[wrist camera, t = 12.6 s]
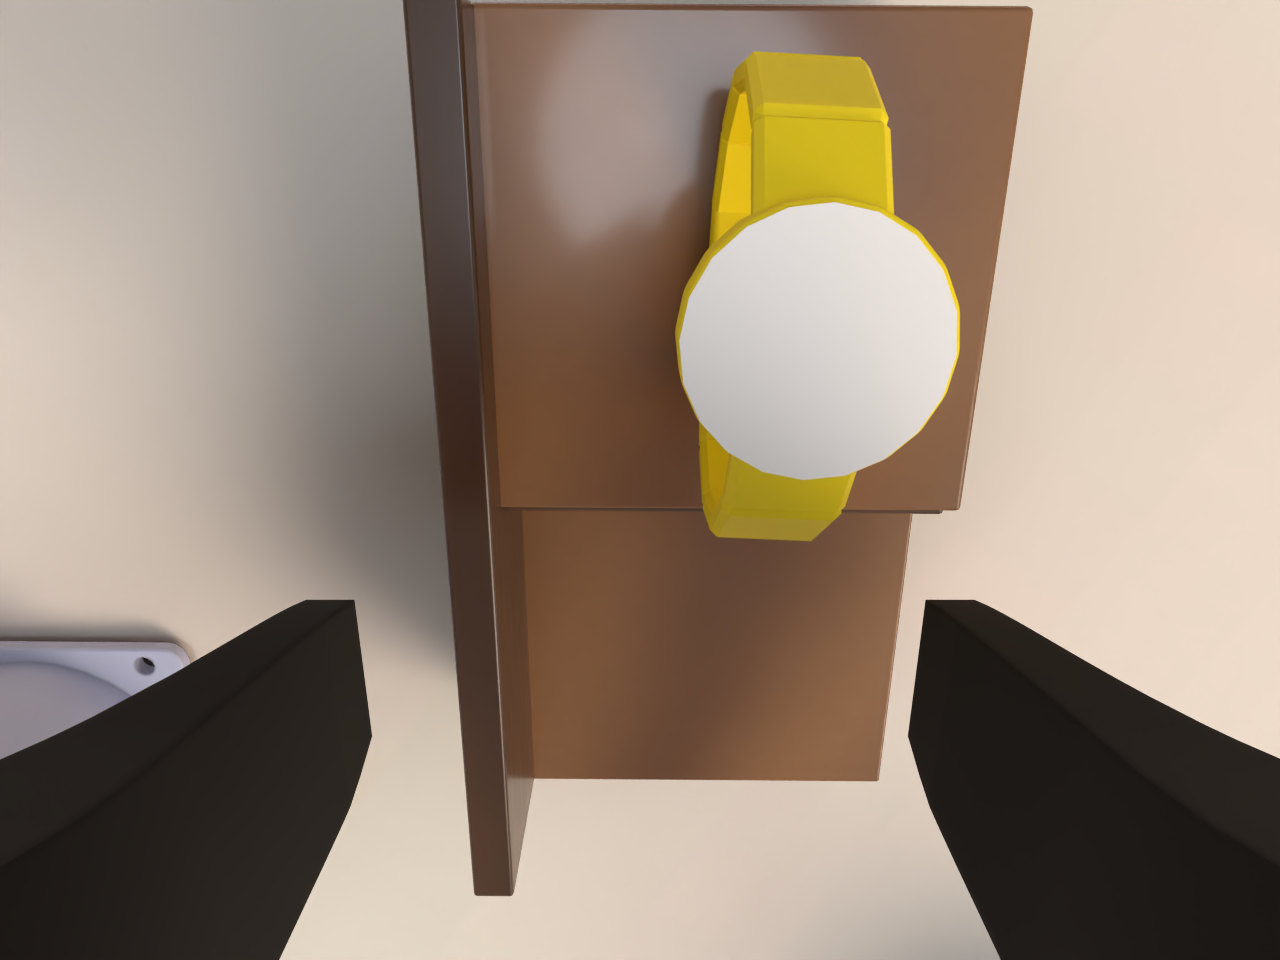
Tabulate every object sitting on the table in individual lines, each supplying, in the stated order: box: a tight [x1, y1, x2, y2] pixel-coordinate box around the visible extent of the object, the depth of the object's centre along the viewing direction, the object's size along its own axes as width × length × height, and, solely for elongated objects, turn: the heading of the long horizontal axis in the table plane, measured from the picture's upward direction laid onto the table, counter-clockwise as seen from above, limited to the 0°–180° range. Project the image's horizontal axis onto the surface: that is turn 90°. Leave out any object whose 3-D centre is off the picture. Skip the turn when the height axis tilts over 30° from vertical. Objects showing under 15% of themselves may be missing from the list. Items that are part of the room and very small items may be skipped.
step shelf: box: [403, 0, 1033, 896], centre depth 17 cm, size 9×16×6 cm, turn 0°
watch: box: [675, 51, 960, 541], centre depth 11 cm, size 6×3×6 cm, turn 177°
